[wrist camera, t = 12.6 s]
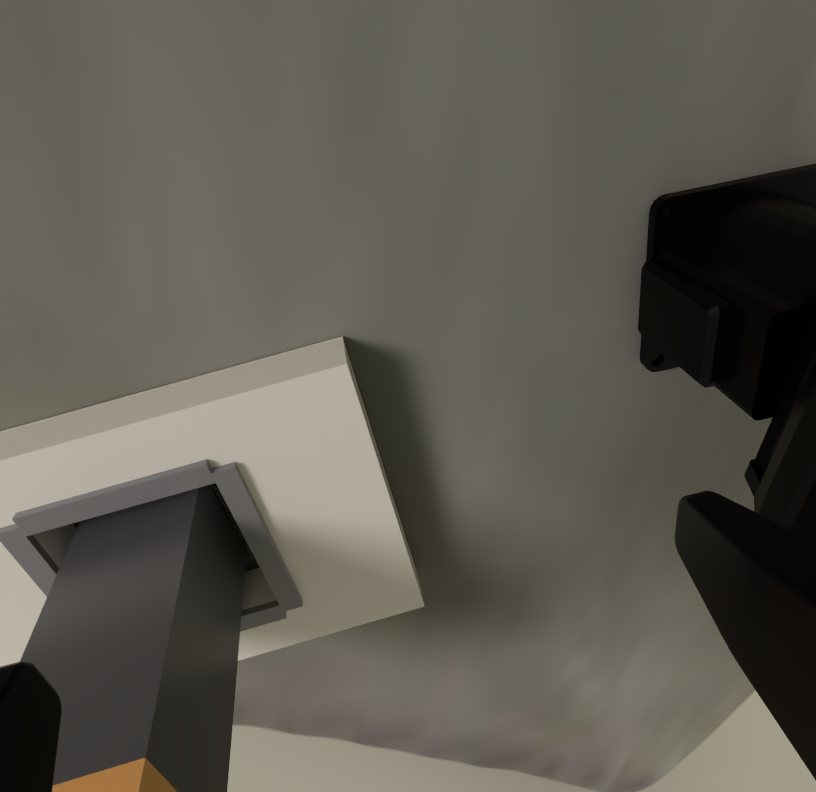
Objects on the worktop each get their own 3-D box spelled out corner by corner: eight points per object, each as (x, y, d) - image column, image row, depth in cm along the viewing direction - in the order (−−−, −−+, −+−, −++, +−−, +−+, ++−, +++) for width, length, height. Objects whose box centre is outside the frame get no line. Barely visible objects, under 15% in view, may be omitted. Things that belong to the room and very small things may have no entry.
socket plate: (342, 336, 21) (347, 368, 19) (416, 570, 27) (426, 612, 25) (-152, 473, 20) (-199, 520, 18) (43, 678, 27) (23, 729, 25)
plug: (202, 469, 22) (130, 832, 12) (246, 549, 25) (217, 909, 15) (87, 503, 22) (-82, 897, 12) (142, 580, 25) (40, 964, 15)
